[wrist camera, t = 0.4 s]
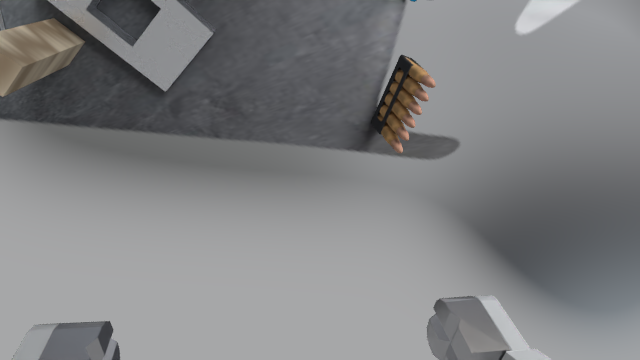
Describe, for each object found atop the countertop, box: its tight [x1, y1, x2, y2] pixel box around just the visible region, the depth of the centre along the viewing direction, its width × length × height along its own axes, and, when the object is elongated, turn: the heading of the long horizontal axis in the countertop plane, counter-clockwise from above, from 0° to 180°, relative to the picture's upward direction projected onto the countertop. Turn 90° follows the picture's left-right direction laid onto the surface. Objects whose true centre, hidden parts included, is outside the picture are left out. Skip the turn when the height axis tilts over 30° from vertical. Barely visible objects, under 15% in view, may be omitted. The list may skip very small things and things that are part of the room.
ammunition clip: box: [371, 55, 435, 153], centre depth 51 cm, size 11×2×12 cm, turn 160°
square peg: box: [0, 18, 85, 97], centre depth 42 cm, size 4×4×14 cm
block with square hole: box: [47, 0, 216, 92], centre depth 46 cm, size 18×10×3 cm, turn 45°
